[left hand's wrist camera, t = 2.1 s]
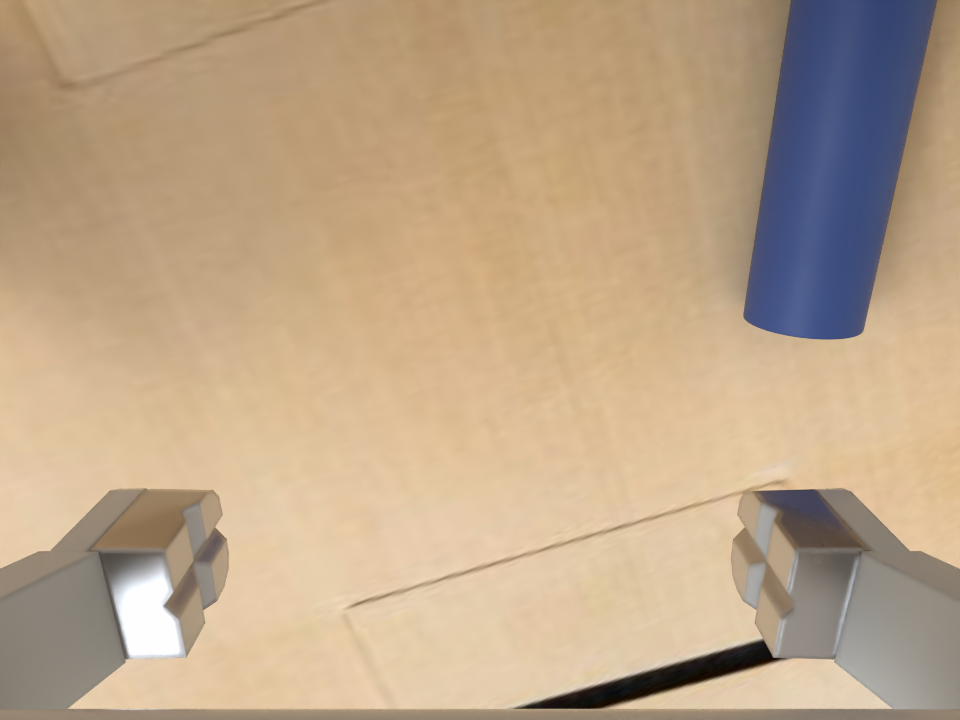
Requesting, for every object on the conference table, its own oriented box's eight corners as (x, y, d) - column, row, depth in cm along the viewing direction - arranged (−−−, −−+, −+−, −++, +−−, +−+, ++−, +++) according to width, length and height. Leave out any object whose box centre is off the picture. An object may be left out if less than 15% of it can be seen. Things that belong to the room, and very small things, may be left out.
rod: (828, 306, 39) (887, 339, 33) (727, 306, 39) (769, 339, 33) (924, -175, 31) (1025, -239, 25) (796, -175, 31) (867, -240, 25)
